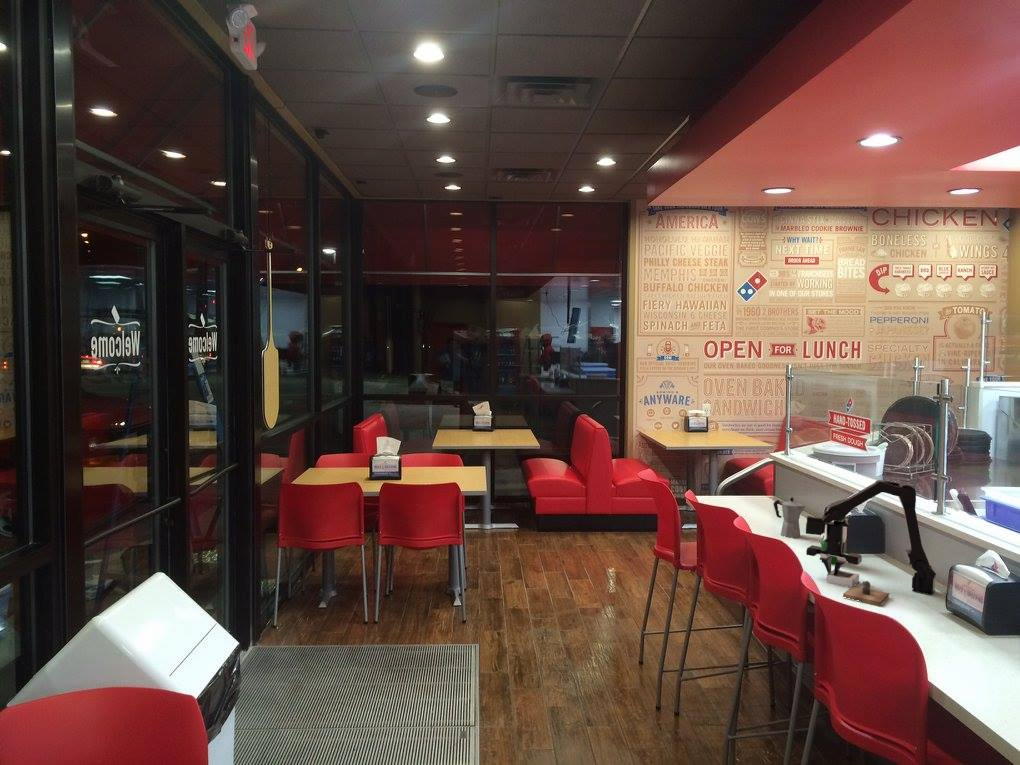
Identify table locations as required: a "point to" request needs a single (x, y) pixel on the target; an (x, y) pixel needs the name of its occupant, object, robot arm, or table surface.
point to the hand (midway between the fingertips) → (832, 576)
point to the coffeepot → (790, 517)
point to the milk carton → (823, 543)
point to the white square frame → (843, 578)
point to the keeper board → (866, 594)
